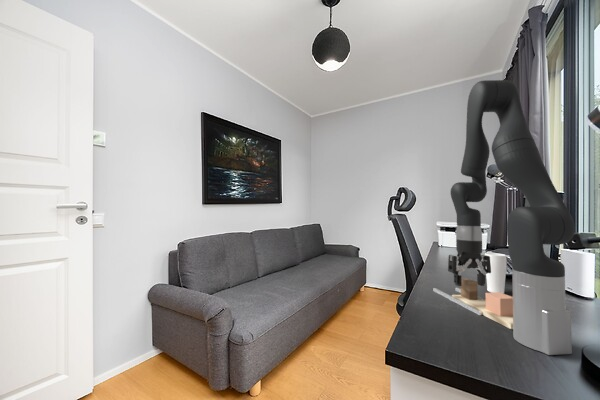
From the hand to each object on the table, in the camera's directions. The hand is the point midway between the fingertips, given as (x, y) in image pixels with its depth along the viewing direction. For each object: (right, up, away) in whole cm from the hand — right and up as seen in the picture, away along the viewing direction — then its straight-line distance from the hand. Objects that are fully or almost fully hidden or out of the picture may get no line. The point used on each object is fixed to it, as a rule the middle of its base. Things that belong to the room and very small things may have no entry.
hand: (469, 285), depth 85 cm
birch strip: (+1, -6, -8) cm, 10 cm away
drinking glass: (+18, -7, +11) cm, 22 cm away
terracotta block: (+1, -4, -12) cm, 12 cm away
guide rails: (0, -6, +1) cm, 6 cm away
